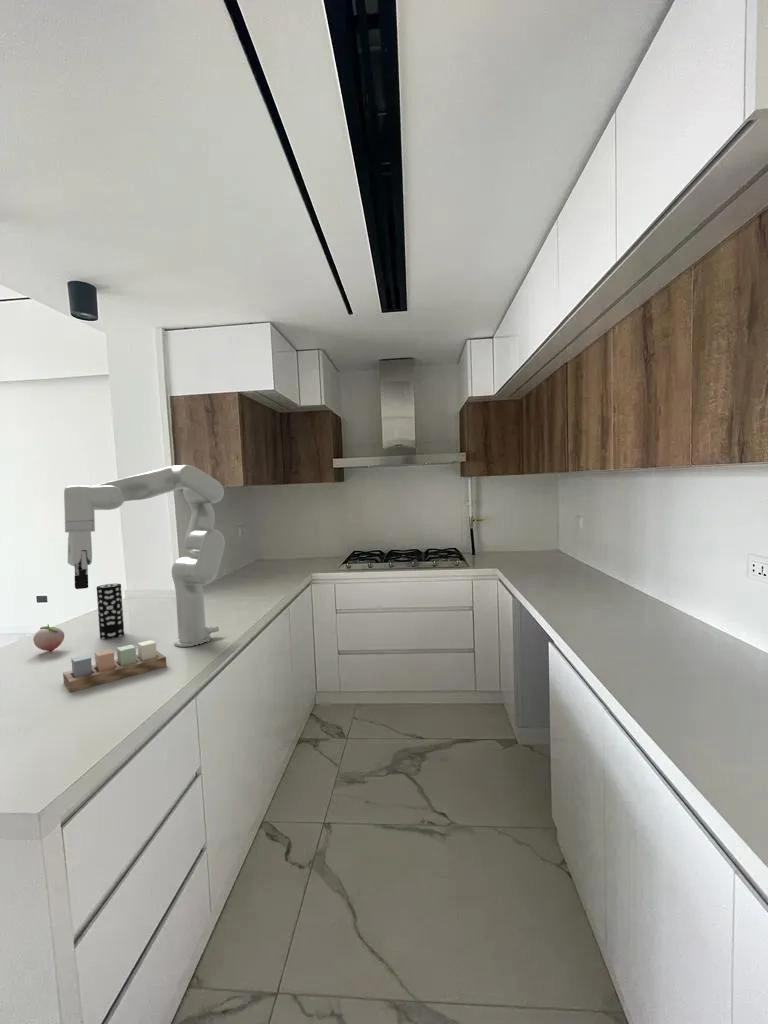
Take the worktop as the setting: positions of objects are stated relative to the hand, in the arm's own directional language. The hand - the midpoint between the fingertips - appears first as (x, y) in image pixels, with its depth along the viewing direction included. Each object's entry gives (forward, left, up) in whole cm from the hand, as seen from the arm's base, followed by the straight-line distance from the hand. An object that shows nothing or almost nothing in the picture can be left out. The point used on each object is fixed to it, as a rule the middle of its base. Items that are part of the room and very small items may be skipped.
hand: (81, 588), depth 142 cm
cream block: (-16, +3, -25) cm, 30 cm away
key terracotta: (-4, +3, -25) cm, 26 cm away
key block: (-7, +3, -28) cm, 29 cm away
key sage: (-10, +3, -25) cm, 27 cm away
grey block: (+2, +3, -25) cm, 25 cm away
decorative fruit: (+4, -40, -28) cm, 49 cm away
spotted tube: (-17, -44, -28) cm, 55 cm away
